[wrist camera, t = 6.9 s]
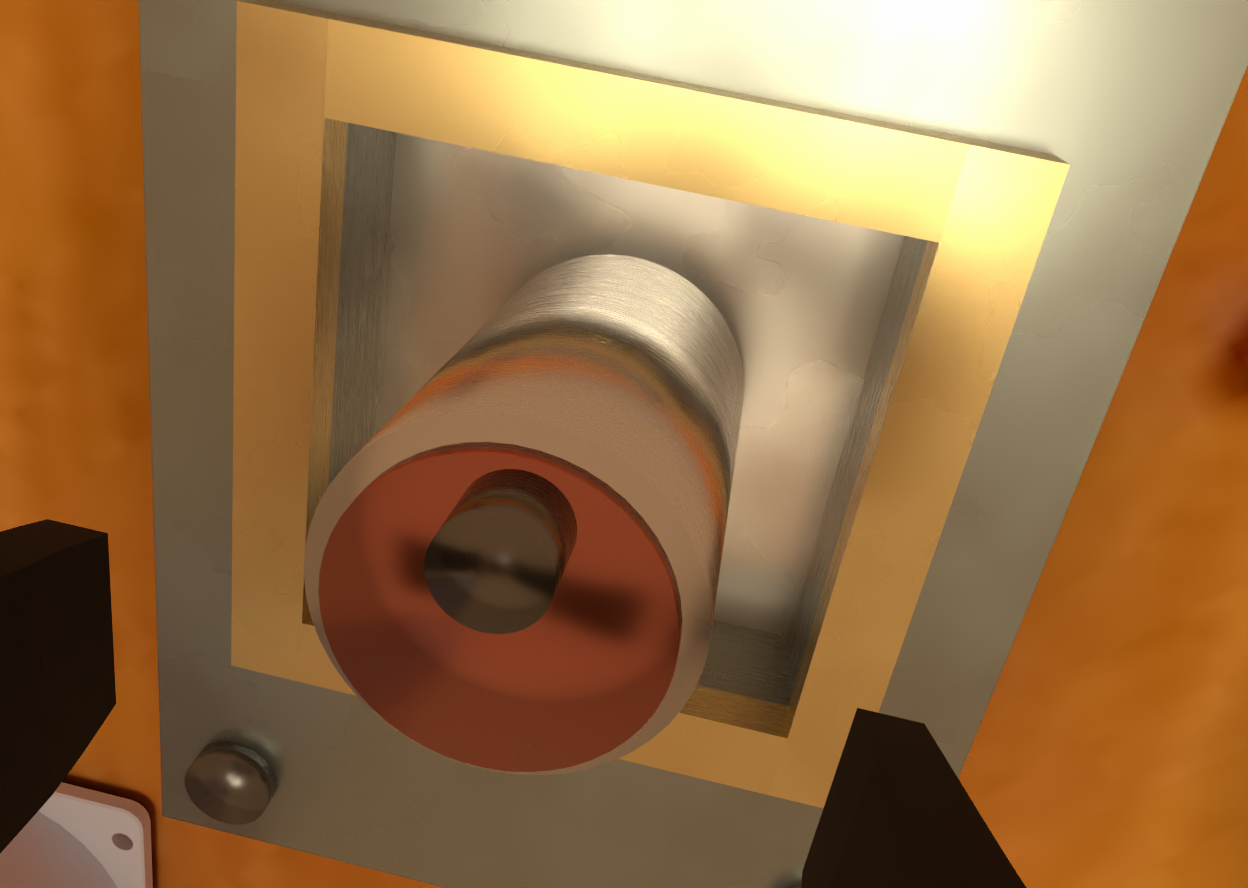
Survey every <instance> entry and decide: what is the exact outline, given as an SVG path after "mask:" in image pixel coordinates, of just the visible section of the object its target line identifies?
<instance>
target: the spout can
mask: <svg viewBox="0 0 1248 888" xmlns="http://www.w3.org/2000/svg"><path fill="white" fill-rule="evenodd" d="M743 398H744V371H743V366H742V361H741V355H740V352H739V349H738V346H737V343H736V340H735V338H734V336H733V334H732V332H731V330H730V328H729V326H728V324H727V322H726V321H725V319H724V318H723V316H722V315H721V313H720V312H719V310H718V309H717V308H716V306H715V305H714V304H713V303H712V302H711V301H710V300H709V298H708V297H707V296H706V295H705V294H704V293H702V292H701V291H700V290H699V289H698V288H697V287H696V286H695V285H693V284H692V283H691V282H689V281H688V280H686V279H685V278H683V277H682V276H680V275H679V274H677V273H675V272H673V271H671V270H669V269H667V268H665V267H663V266H661V265H659V264H656V263H653V262H650V261H647V260H645V259H640V258H635V257H631V256H626V255H612V254H603V255H589V256H584V257H578V258H573V259H570V260H567V261H564V262H561V263H558V264H556V265H554V266H552V267H550V268H548V269H546V270H544V271H542V272H540V273H539V274H537V275H536V276H535V277H533V278H532V279H530V280H529V281H527V282H526V283H525V284H524V285H523V286H522V287H521V288H520V289H519V290H518V291H517V292H515V293H514V294H513V296H512V297H511V298H510V299H509V300H508V301H507V302H506V303H505V304H504V305H503V306H502V307H501V308H500V309H499V310H498V311H497V312H496V313H495V314H494V315H493V316H492V317H491V318H490V319H489V320H488V321H487V322H486V323H485V324H484V325H483V326H482V327H481V328H480V329H479V330H478V331H477V332H476V333H475V334H474V335H473V336H472V337H471V338H470V339H469V340H468V341H467V342H466V343H465V344H464V345H463V346H462V347H461V348H460V349H459V350H458V351H457V352H456V353H455V354H454V355H453V356H452V357H451V358H450V360H449V361H448V362H447V363H446V364H445V365H444V366H443V367H442V368H441V369H440V370H439V371H438V372H437V373H436V374H435V375H434V376H433V377H432V378H431V379H430V380H429V381H428V382H427V383H426V384H425V385H424V386H423V387H422V388H421V389H420V390H419V391H418V392H417V393H416V394H415V395H414V396H413V397H412V398H411V399H410V400H409V401H408V402H407V403H406V404H405V405H404V406H403V407H402V408H401V409H400V410H399V411H398V412H397V413H396V414H395V415H394V416H393V417H392V418H391V419H390V420H389V421H388V422H387V423H386V425H385V426H384V427H383V428H382V429H381V430H380V431H379V432H378V433H377V434H376V435H375V436H374V437H373V438H372V439H371V440H370V441H369V442H368V443H367V444H366V445H365V446H364V447H363V448H362V449H361V450H360V451H359V452H358V453H357V454H356V455H355V456H354V457H353V458H352V459H351V460H350V461H349V462H348V463H347V464H346V465H345V466H344V467H343V468H342V470H341V471H340V472H339V473H338V475H337V476H336V477H335V478H334V480H333V481H332V482H331V483H330V485H329V486H328V488H327V490H326V491H325V493H324V495H323V497H322V498H321V500H320V502H319V504H318V505H317V508H316V511H315V513H314V516H313V519H312V521H311V524H310V527H309V531H308V536H307V541H306V546H305V555H304V581H305V592H306V598H307V602H308V607H309V611H310V615H311V619H312V622H313V624H314V627H315V629H316V632H317V635H318V637H319V640H320V642H321V644H322V646H323V648H324V650H325V651H326V653H327V655H328V657H329V659H330V661H331V663H332V664H333V665H334V667H335V668H336V670H337V671H338V673H339V674H340V676H341V677H342V678H343V680H344V681H345V683H346V684H347V685H348V686H349V687H350V688H351V690H352V691H353V692H354V693H355V694H356V695H357V696H358V698H359V699H360V700H361V701H362V702H363V703H364V704H365V705H366V706H367V707H369V708H370V709H371V710H372V711H373V712H374V713H375V714H376V715H377V716H378V717H379V718H381V719H382V720H383V721H385V722H386V723H387V724H389V725H390V726H391V727H393V728H394V729H395V730H397V731H398V732H399V733H401V734H403V735H404V736H406V737H407V738H409V739H411V740H412V741H414V742H416V743H417V744H419V745H421V746H423V747H425V748H427V749H429V750H431V751H433V752H435V753H437V754H439V755H442V756H444V757H447V758H449V759H452V760H455V761H458V762H460V763H463V764H466V765H470V766H474V767H478V768H482V769H486V770H490V771H495V772H502V773H509V774H516V775H553V774H565V773H571V772H576V771H581V770H586V769H590V768H593V767H597V766H600V765H603V764H606V763H609V762H612V761H614V760H616V759H618V758H620V757H623V756H625V755H627V754H629V753H631V752H633V751H635V750H636V749H638V748H639V747H641V746H642V745H644V744H645V743H647V742H649V741H650V740H652V739H653V738H654V737H655V736H656V735H657V734H659V733H660V732H661V731H662V730H663V729H664V728H666V727H667V726H668V725H669V724H670V723H671V721H672V720H673V719H674V718H675V717H676V716H677V714H678V713H679V712H680V711H681V710H682V709H683V707H684V706H685V704H686V703H687V701H688V699H689V698H690V696H691V695H692V693H693V691H694V690H695V688H696V686H697V683H698V681H699V678H700V676H701V674H702V671H703V669H704V666H705V662H706V658H707V654H708V650H709V646H710V639H711V632H712V625H713V617H714V610H715V603H716V596H717V589H718V581H719V574H720V567H721V560H722V552H723V545H724V538H725V531H726V523H727V516H728V509H729V502H730V495H731V487H732V480H733V473H734V466H735V458H736V451H737V444H738V437H739V430H740V422H741V415H742V408H743Z"/></svg>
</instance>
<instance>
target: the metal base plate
mask: <svg viewBox="0 0 1248 888" xmlns="http://www.w3.org/2000/svg"><path fill="white" fill-rule="evenodd" d="M139 28H140V63H141V97H142V131H143V165H144V199H145V234H146V268H147V302H148V336H149V370H150V404H151V439H152V473H153V507H154V541H155V575H156V610H157V644H158V678H159V712H160V746H161V781H162V815H163V816H164V817H168V818H172V819H176V820H180V821H184V822H188V823H192V824H196V825H200V826H204V827H208V828H212V829H216V830H220V831H224V832H228V833H232V834H236V835H240V836H244V837H248V838H251V839H255V840H259V841H263V842H267V843H271V844H275V845H279V846H283V847H287V848H291V849H295V850H299V851H303V852H307V853H311V854H315V855H319V856H323V857H327V858H331V859H335V860H339V861H343V862H346V863H350V864H354V865H358V866H362V867H366V868H370V869H374V870H378V871H382V872H386V873H390V874H394V875H398V876H402V877H406V878H410V879H414V880H418V881H422V882H426V883H430V884H434V885H438V886H441V887H445V888H801V885H802V871H803V868H804V865H805V862H806V859H807V856H808V853H809V850H810V847H811V844H812V841H813V838H814V835H815V832H816V829H817V826H818V823H819V820H820V817H821V814H822V811H823V808H824V805H825V802H826V799H827V796H828V793H829V790H830V787H831V784H832V781H833V778H834V775H835V772H836V770H837V767H838V764H839V761H840V758H841V755H842V752H843V749H844V746H845V743H846V740H847V737H848V734H849V731H850V728H851V725H852V722H853V719H854V716H855V713H856V710H857V708H860V709H865V710H869V711H873V712H878V713H882V714H886V715H890V716H895V717H899V718H903V719H908V720H912V721H916V722H920V723H924V724H925V725H926V727H927V729H928V730H929V732H930V733H931V735H932V737H933V738H934V740H935V741H936V743H937V745H938V746H939V748H940V750H941V751H942V753H943V754H944V756H945V758H946V759H947V761H948V763H949V764H950V766H951V768H952V769H953V771H954V772H955V774H956V776H957V777H959V775H960V772H961V770H962V767H963V765H964V763H965V760H966V758H967V755H968V753H969V750H970V748H971V745H972V743H973V740H974V738H975V735H976V733H977V730H978V728H979V726H980V723H981V721H982V718H983V716H984V713H985V711H986V708H987V706H988V703H989V701H990V698H991V696H992V694H993V691H994V689H995V686H996V684H997V681H998V679H999V676H1000V674H1001V671H1002V669H1003V666H1004V664H1005V661H1006V659H1007V657H1008V654H1009V652H1010V649H1011V647H1012V644H1013V642H1014V639H1015V637H1016V634H1017V632H1018V629H1019V627H1020V625H1021V622H1022V620H1023V617H1024V615H1025V612H1026V610H1027V607H1028V605H1029V602H1030V600H1031V597H1032V595H1033V592H1034V590H1035V588H1036V585H1037V583H1038V580H1039V578H1040V575H1041V573H1042V570H1043V568H1044V565H1045V563H1046V560H1047V558H1048V556H1049V553H1050V551H1051V548H1052V546H1053V543H1054V541H1055V538H1056V536H1057V533H1058V531H1059V528H1060V526H1061V523H1062V521H1063V519H1064V516H1065V514H1066V511H1067V509H1068V506H1069V504H1070V501H1071V499H1072V496H1073V494H1074V491H1075V489H1076V486H1077V484H1078V482H1079V479H1080V477H1081V474H1082V472H1083V469H1084V467H1085V464H1086V462H1087V459H1088V457H1089V454H1090V452H1091V450H1092V447H1093V445H1094V442H1095V440H1096V437H1097V435H1098V432H1099V430H1100V427H1101V425H1102V422H1103V420H1104V417H1105V415H1106V413H1107V410H1108V408H1109V405H1110V403H1111V400H1112V398H1113V395H1114V393H1115V390H1116V388H1117V385H1118V383H1119V381H1120V378H1121V376H1122V373H1123V371H1124V368H1125V366H1126V363H1127V361H1128V358H1129V356H1130V353H1131V351H1132V348H1133V346H1134V344H1135V341H1136V339H1137V336H1138V334H1139V331H1140V329H1141V326H1142V324H1143V321H1144V319H1145V316H1146V314H1147V312H1148V309H1149V307H1150V304H1151V302H1152V299H1153V297H1154V294H1155V292H1156V289H1157V287H1158V284H1159V282H1160V279H1161V277H1162V275H1163V272H1164V270H1165V267H1166V265H1167V262H1168V260H1169V257H1170V255H1171V252H1172V250H1173V247H1174V245H1175V243H1176V240H1177V238H1178V235H1179V233H1180V230H1181V228H1182V225H1183V223H1184V220H1185V218H1186V215H1187V213H1188V210H1189V208H1190V206H1191V203H1192V201H1193V198H1194V196H1195V193H1196V191H1197V188H1198V186H1199V183H1200V181H1201V178H1202V176H1203V173H1204V171H1205V169H1206V166H1207V164H1208V161H1209V159H1210V156H1211V154H1212V151H1213V149H1214V146H1215V144H1216V141H1217V139H1218V137H1219V134H1220V132H1221V129H1222V127H1223V124H1224V122H1225V119H1226V117H1227V114H1228V112H1229V109H1230V107H1231V104H1232V102H1233V100H1234V97H1235V95H1236V92H1237V90H1238V87H1239V85H1240V82H1241V80H1242V77H1243V75H1244V72H1245V70H1246V68H1247V65H1248V0H139ZM603 254H612V255H626V256H631V257H635V258H640V259H645V260H647V261H650V262H653V263H656V264H659V265H661V266H663V267H665V268H667V269H669V270H671V271H673V272H675V273H677V274H679V275H680V276H682V277H683V278H685V279H686V280H688V281H689V282H691V283H692V284H693V285H695V286H696V287H697V288H698V289H699V290H700V291H701V292H702V293H704V294H705V295H706V296H707V297H708V298H709V300H710V301H711V302H712V303H713V304H714V305H715V306H716V308H717V309H718V310H719V312H720V313H721V315H722V316H723V318H724V319H725V321H726V322H727V324H728V326H729V328H730V330H731V332H732V334H733V336H734V338H735V340H736V343H737V346H738V349H739V352H740V355H741V361H742V366H743V371H744V398H743V408H742V415H741V422H740V430H739V437H738V444H737V451H736V458H735V466H734V473H733V480H732V487H731V495H730V502H729V509H728V516H727V523H726V531H725V538H724V545H723V552H722V560H721V567H720V574H719V581H718V589H717V596H716V603H715V610H714V617H713V625H712V632H711V639H710V646H709V650H708V654H707V658H706V662H705V666H704V669H703V671H702V674H701V676H700V678H699V681H698V683H697V686H696V688H695V690H694V691H693V693H692V695H691V696H690V698H689V699H688V701H687V703H686V704H685V706H684V707H683V709H682V710H681V711H680V712H679V713H678V714H677V716H676V717H675V718H674V719H673V720H672V721H671V723H670V724H669V725H668V726H667V727H666V728H664V729H663V730H662V731H661V732H660V733H659V734H657V735H656V736H655V737H654V738H653V739H652V740H650V741H649V742H647V743H645V744H644V745H642V746H641V747H639V748H638V749H636V750H635V751H633V752H631V753H629V754H627V755H625V756H623V757H620V758H618V759H616V760H614V761H612V762H609V763H606V764H603V765H600V766H597V767H593V768H590V769H586V770H581V771H576V772H571V773H565V774H553V775H516V774H509V773H502V772H495V771H490V770H486V769H482V768H478V767H474V766H470V765H466V764H463V763H460V762H458V761H455V760H452V759H449V758H447V757H444V756H442V755H439V754H437V753H435V752H433V751H431V750H429V749H427V748H425V747H423V746H421V745H419V744H417V743H416V742H414V741H412V740H411V739H409V738H407V737H406V736H404V735H403V734H401V733H399V732H398V731H397V730H395V729H394V728H393V727H391V726H390V725H389V724H387V723H386V722H385V721H383V720H382V719H381V718H379V717H378V716H377V715H376V714H375V713H374V712H373V711H372V710H371V709H370V708H369V707H367V706H366V705H365V704H364V703H363V702H362V701H361V700H360V699H359V698H358V696H357V695H356V694H355V693H354V692H353V691H352V690H351V688H350V687H349V686H348V685H347V684H346V683H345V681H344V680H343V678H342V677H341V676H340V674H339V673H338V671H337V670H336V668H335V667H334V665H333V664H332V663H331V661H330V659H329V657H328V655H327V653H326V651H325V650H324V648H323V646H322V644H321V642H320V640H319V637H318V635H317V632H316V629H315V627H314V624H313V622H312V619H311V615H310V611H309V607H308V602H307V598H306V592H305V581H304V555H305V546H306V541H307V536H308V531H309V527H310V524H311V521H312V519H313V516H314V513H315V511H316V508H317V505H318V504H319V502H320V500H321V498H322V497H323V495H324V493H325V491H326V490H327V488H328V486H329V485H330V483H331V482H332V481H333V480H334V478H335V477H336V476H337V475H338V473H339V472H340V471H341V470H342V468H343V467H344V466H345V465H346V464H347V463H348V462H349V461H350V460H351V459H352V458H353V457H354V456H355V455H356V454H357V453H358V452H359V451H360V450H361V449H362V448H363V447H364V446H365V445H366V444H367V443H368V442H369V441H370V440H371V439H372V438H373V437H374V436H375V435H376V434H377V433H378V432H379V431H380V430H381V429H382V428H383V427H384V426H385V425H386V423H387V422H388V421H389V420H390V419H391V418H392V417H393V416H394V415H395V414H396V413H397V412H398V411H399V410H400V409H401V408H402V407H403V406H404V405H405V404H406V403H407V402H408V401H409V400H410V399H411V398H412V397H413V396H414V395H415V394H416V393H417V392H418V391H419V390H420V389H421V388H422V387H423V386H424V385H425V384H426V383H427V382H428V381H429V380H430V379H431V378H432V377H433V376H434V375H435V374H436V373H437V372H438V371H439V370H440V369H441V368H442V367H443V366H444V365H445V364H446V363H447V362H448V361H449V360H450V358H451V357H452V356H453V355H454V354H455V353H456V352H457V351H458V350H459V349H460V348H461V347H462V346H463V345H464V344H465V343H466V342H467V341H468V340H469V339H470V338H471V337H472V336H473V335H474V334H475V333H476V332H477V331H478V330H479V329H480V328H481V327H482V326H483V325H484V324H485V323H486V322H487V321H488V320H489V319H490V318H491V317H492V316H493V315H494V314H495V313H496V312H497V311H498V310H499V309H500V308H501V307H502V306H503V305H504V304H505V303H506V302H507V301H508V300H509V299H510V298H511V297H512V296H513V294H514V293H515V292H517V291H518V290H519V289H520V288H521V287H522V286H523V285H524V284H525V283H526V282H527V281H529V280H530V279H532V278H533V277H535V276H536V275H537V274H539V273H540V272H542V271H544V270H546V269H548V268H550V267H552V266H554V265H556V264H558V263H561V262H564V261H567V260H570V259H573V258H578V257H584V256H589V255H603Z"/></svg>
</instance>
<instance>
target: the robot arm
mask: <svg viewBox="0 0 1248 888" xmlns="http://www.w3.org/2000/svg"><path fill="white" fill-rule="evenodd" d="M115 704H116V693H115V673H114V652H113V632H112V612H111V591H110V571H109V551H108V533H104V532H100V531H95V530H91V529H87V528H83V527H78V526H74V525H70V524H65V523H61V522H57V521H52V520H43V521H39V522H35V523H31V524H27V525H23V526H20V527H16V528H13V529H9V530H6V531H2V532H0V888H153V878H152V851H151V823H150V817H149V814H148V812H147V810H146V809H145V808H144V807H143V806H142V805H141V804H139V803H138V802H136V801H133V800H131V799H127V798H123V797H119V796H115V795H111V794H107V793H103V792H99V791H95V790H91V789H87V788H83V787H79V786H75V785H71V784H67V783H63V782H62V781H63V780H64V778H65V777H66V776H67V774H68V773H69V771H70V770H71V769H72V767H73V766H74V765H75V763H76V762H77V760H78V759H79V758H80V756H81V755H82V754H83V752H84V751H85V749H86V748H87V746H88V745H89V743H90V742H91V740H92V739H93V737H94V736H95V734H96V733H97V731H98V730H99V728H100V727H101V725H102V724H103V722H104V721H105V719H106V718H107V716H108V715H109V713H110V712H111V710H112V709H113V707H114V706H115ZM801 888H1026V886H1025V885H1024V883H1023V882H1022V880H1021V879H1020V877H1019V876H1018V874H1017V873H1016V871H1015V869H1014V868H1013V866H1012V865H1011V863H1010V862H1009V860H1008V858H1007V857H1006V855H1005V854H1004V852H1003V851H1002V849H1001V847H1000V846H999V844H998V843H997V841H996V839H995V838H994V836H993V835H992V833H991V831H990V830H989V828H988V826H987V825H986V823H985V822H984V820H983V818H982V817H981V815H980V814H979V812H978V810H977V809H976V807H975V805H974V804H973V802H972V800H971V799H970V797H969V796H968V794H967V792H966V791H965V789H964V787H963V786H962V784H961V782H960V781H959V779H958V777H957V776H956V774H955V772H954V771H953V769H952V768H951V766H950V764H949V763H948V761H947V759H946V758H945V756H944V754H943V753H942V751H941V750H940V748H939V746H938V745H937V743H936V741H935V740H934V738H933V737H932V735H931V733H930V732H929V730H928V729H927V727H926V725H925V724H924V723H920V722H916V721H912V720H908V719H903V718H899V717H895V716H890V715H886V714H882V713H878V712H873V711H869V710H865V709H860V708H857V710H856V713H855V716H854V719H853V722H852V725H851V728H850V731H849V734H848V737H847V740H846V743H845V746H844V749H843V752H842V755H841V758H840V761H839V764H838V767H837V770H836V772H835V775H834V778H833V781H832V784H831V787H830V790H829V793H828V796H827V799H826V802H825V805H824V808H823V811H822V814H821V817H820V820H819V823H818V826H817V829H816V832H815V835H814V838H813V841H812V844H811V847H810V850H809V853H808V856H807V859H806V862H805V865H804V868H803V871H802V885H801Z"/></svg>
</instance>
